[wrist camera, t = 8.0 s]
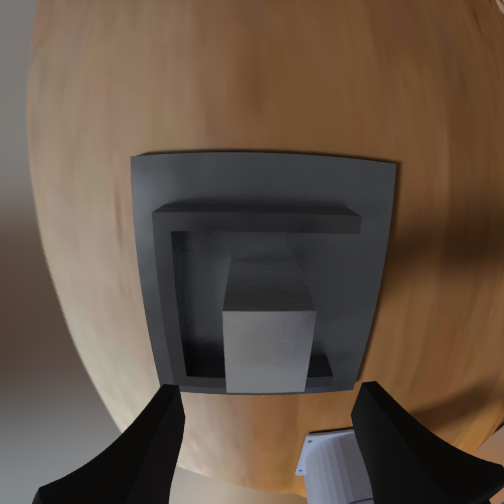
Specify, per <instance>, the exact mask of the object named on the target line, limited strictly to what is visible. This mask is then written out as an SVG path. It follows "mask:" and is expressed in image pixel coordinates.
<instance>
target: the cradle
mask: <svg viewBox="0 0 504 504" xmlns="http://www.w3.org/2000/svg"><path fill="white" fill-rule="evenodd" d="M395 175H396V164H393V163H386V162H378V161H370V160H361V159H352V158H342V157H331V156H318V155H303V154H284V153H252V152H209V153H177V154H158V155H144V156H131V185H132V204H133V218H134V230H135V241H136V250H137V259H138V267H139V275H140V282H141V289H142V296H143V302H144V309H145V314H146V320H147V326H148V331H149V336H150V341H151V346H152V351H153V356H154V361H155V365H156V369H157V374H158V378H159V382H160V386H161V385H163V384H171V385H179V389H180V392H192V393H207V394H228V395H286V394H308V393H322V392H334V391H344V390H353V388H354V385H355V381H356V378H357V375H358V372H359V369H360V365H361V362H362V358H363V355H364V351H365V348H366V344H367V340H368V337H369V333H370V329H371V325H372V321H373V317H374V312H375V308H376V303H377V299H378V294H379V289H380V284H381V279H382V274H383V269H384V263H385V257H386V251H387V245H388V238H389V231H390V224H391V216H392V207H393V198H394V187H395ZM231 260H246V261H297V263H298V266H299V268H300V271H301V273H302V275H303V278H304V280H305V283H306V285H307V288H308V290H309V293H310V295H311V298H312V300H313V303H314V305H315V308H316V311H317V312H316V320H315V327H314V334H313V341H312V348H311V354H310V360H309V366H308V372H307V378H306V384H305V390H304V392H284V393H227V390H226V373H225V356H224V336H223V314H222V310H223V304H224V298H225V292H226V285H227V279H228V273H229V267H230V261H231Z"/></svg>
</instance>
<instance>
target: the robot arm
mask: <svg viewBox="0 0 504 504" xmlns="http://www.w3.org/2000/svg"><path fill="white" fill-rule="evenodd" d="M351 418H352V423H353V428H354V429H348V430H341V431H332V432H323V433H313V434H308V435H307V436H306V437H305V441H304V445H303V448H302V452H301V455H300V458H299V462H298V465H297V468H296V471H295V474H296V475H304V480H305V488H306V495H307V502H308V504H491V503H490V501H489V499H490V498H491V497H493V496H494V495H495V494H496V493H498V492H499V491H500V490H501V489H502V488H503V487H504V467H503V466H502V465H500V464H496V463H493V462H489V461H486V460H483V459H480V458H477V457H475V456H472V455H470V454H468V453H466V452H463V451H461V450H459V449H458V448H456V447H454V446H452V445H450V444H449V443H447V442H445V441H444V440H442V439H441V438H439V437H438V436H436V435H435V434H433V433H432V432H430V431H429V430H428V429H427V428H425V427H424V426H423V425H422V424H420V423H419V422H418V421H417V420H416V419H414V418H413V417H412V416H411V415H410V414H409V413H408V412H407V411H406V410H405V409H403V408H402V407H401V406H400V405H399V404H398V403H397V402H396V401H395V400H394V399H393V398H392V397H391V396H390V395H389V394H388V393H387V392H386V391H385V390H384V389H383V388H382V387H381V386H380V385H379V384H378V383H377V382H376V381H372V382H364V383H362V385H361V388H360V391H359V394H358V396H357V399H356V402H355V405H354V407H353V410H352V413H351ZM184 425H185V413H184V408H183V404H182V399H181V394H180V389H179V385H171V384H163V385H161V387H160V388H159V390H158V391H157V393H156V394H155V395H154V397H153V398H152V399H151V401H150V402H149V403H148V405H147V406H146V407H145V408H144V410H143V411H142V412H141V413H140V414H139V416H138V417H137V418H136V419H135V420H134V422H133V423H132V424H131V425H130V426H129V427H128V428H127V429H126V430H125V431H124V432H123V433H122V434H121V436H119V437H118V438H117V439H116V440H115V441H114V442H113V443H112V444H111V445H110V446H109V447H108V448H106V449H105V450H104V451H103V452H102V453H100V454H99V455H98V456H96V457H95V458H94V459H92V460H91V461H90V462H88V463H87V464H85V465H84V466H82V467H80V468H79V469H77V470H75V471H74V472H72V473H70V474H68V475H66V476H65V477H63V478H61V479H58V480H56V481H54V482H51V483H49V484H47V485H44V486H42V487H40V488H39V489H38V491H37V493H36V495H35V497H34V500H33V502H32V504H169V496H170V488H171V483H172V479H173V475H174V470H175V467H176V463H177V459H178V455H179V451H180V448H181V444H182V439H183V433H184ZM501 504H504V502H503V503H501Z"/></svg>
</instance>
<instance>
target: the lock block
mask: <svg viewBox="0 0 504 504" xmlns="http://www.w3.org/2000/svg"><path fill="white" fill-rule="evenodd" d="M316 312H317V311H316V308H315V305H314V303H313V300H312V298H311V295H310V293H309V290H308V288H307V285H306V283H305V280H304V278H303V275H302V273H301V271H300V268H299V266H298V263H297V261H246V260H231V261H230V267H229V273H228V279H227V285H226V292H225V298H224V304H223V310H222V314H223V336H224V356H225V373H226V390H227V393H284V392H304V390H305V384H306V378H307V372H308V366H309V360H310V354H311V348H312V341H313V334H314V327H315V320H316Z"/></svg>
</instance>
